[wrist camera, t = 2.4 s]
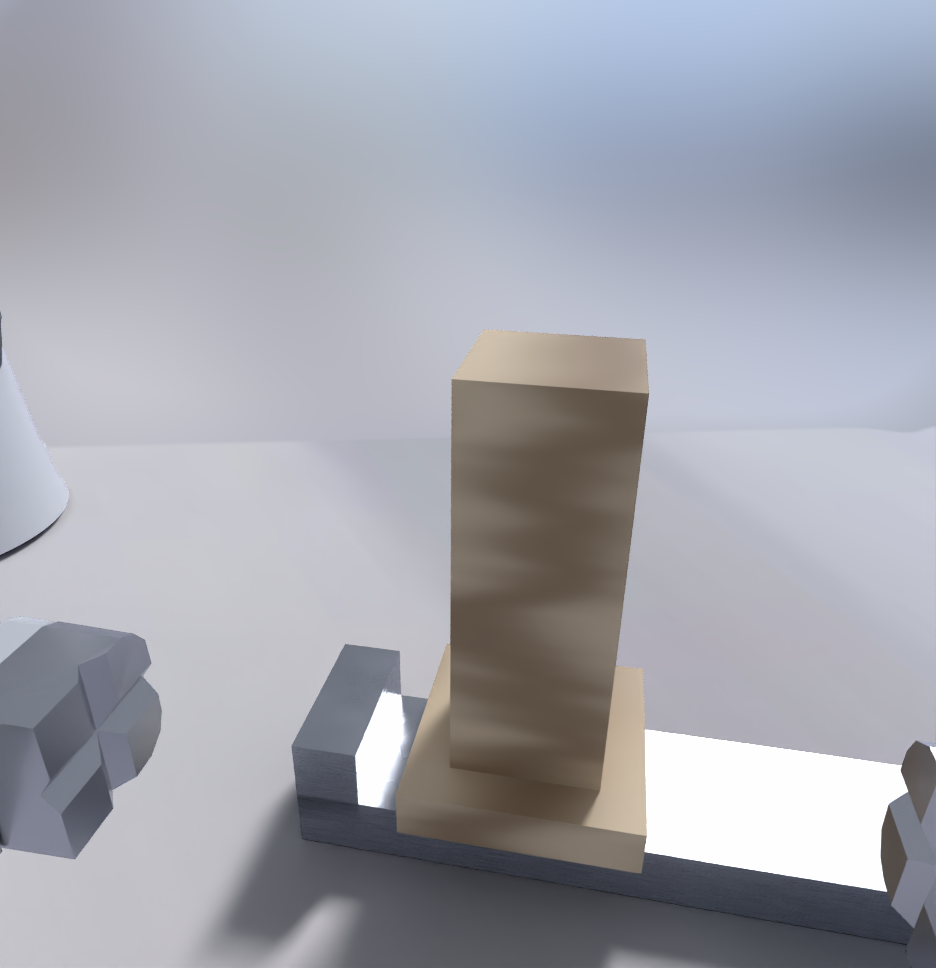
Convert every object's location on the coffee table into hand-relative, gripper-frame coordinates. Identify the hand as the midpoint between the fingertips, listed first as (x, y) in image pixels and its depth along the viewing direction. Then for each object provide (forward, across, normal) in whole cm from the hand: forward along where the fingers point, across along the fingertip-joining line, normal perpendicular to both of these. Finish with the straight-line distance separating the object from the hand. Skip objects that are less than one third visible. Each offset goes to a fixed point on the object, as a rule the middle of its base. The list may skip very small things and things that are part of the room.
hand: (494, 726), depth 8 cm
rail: (+12, +4, -16) cm, 20 cm away
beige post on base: (+12, -1, -13) cm, 18 cm away
